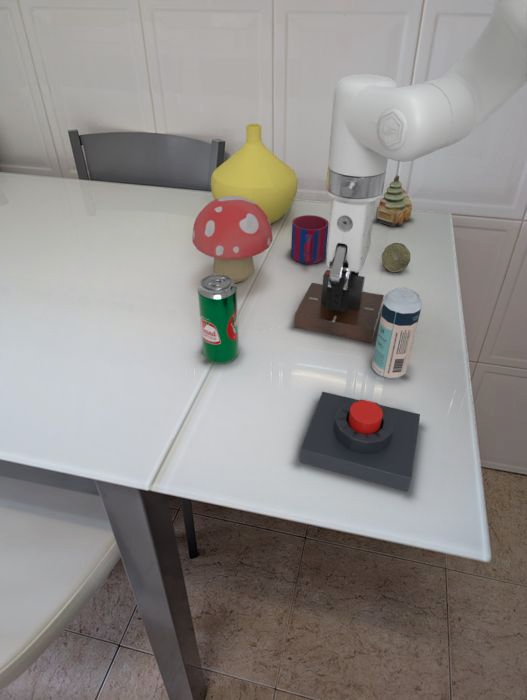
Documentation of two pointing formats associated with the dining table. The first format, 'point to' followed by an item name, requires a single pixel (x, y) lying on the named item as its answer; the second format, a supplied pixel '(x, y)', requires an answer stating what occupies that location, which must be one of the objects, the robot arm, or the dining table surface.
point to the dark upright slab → (355, 289)
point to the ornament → (394, 205)
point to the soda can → (218, 318)
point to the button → (365, 417)
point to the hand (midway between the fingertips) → (341, 295)
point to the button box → (362, 443)
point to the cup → (309, 239)
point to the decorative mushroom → (232, 235)
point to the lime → (396, 257)
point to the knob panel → (339, 316)
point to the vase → (256, 177)
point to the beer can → (396, 332)
